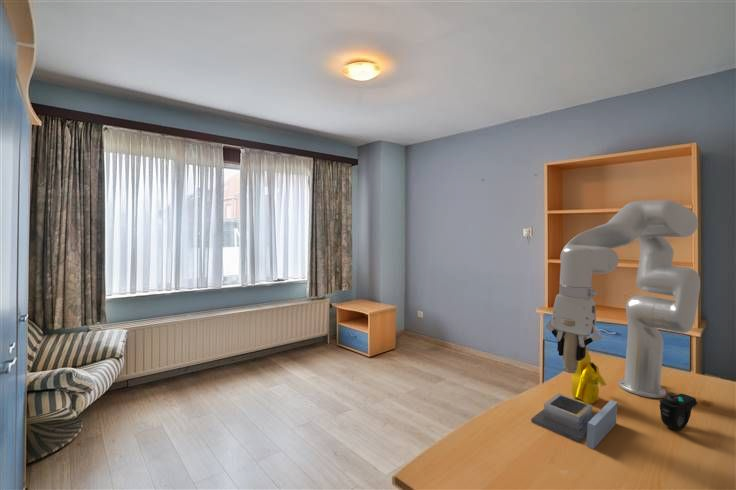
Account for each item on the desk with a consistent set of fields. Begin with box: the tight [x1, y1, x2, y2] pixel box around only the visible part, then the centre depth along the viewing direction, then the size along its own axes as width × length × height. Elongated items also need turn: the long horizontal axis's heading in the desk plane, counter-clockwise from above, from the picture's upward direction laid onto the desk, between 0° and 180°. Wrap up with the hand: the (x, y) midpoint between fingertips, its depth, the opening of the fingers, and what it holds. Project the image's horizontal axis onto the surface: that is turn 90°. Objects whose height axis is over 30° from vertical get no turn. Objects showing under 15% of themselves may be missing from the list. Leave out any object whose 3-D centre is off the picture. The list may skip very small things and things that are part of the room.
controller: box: [659, 392, 698, 431], centre depth 98 cm, size 4×12×10 cm, turn 115°
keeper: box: [530, 393, 598, 443], centre depth 100 cm, size 18×12×4 cm, turn 131°
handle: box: [561, 318, 579, 375], centre depth 99 cm, size 5×6×15 cm
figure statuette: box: [571, 336, 607, 405], centre depth 113 cm, size 18×8×22 cm, turn 123°
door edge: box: [585, 399, 618, 450], centre depth 94 cm, size 18×2×6 cm, turn 131°
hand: (570, 356), depth 99 cm, fingers closed on handle, 4 cm apart
